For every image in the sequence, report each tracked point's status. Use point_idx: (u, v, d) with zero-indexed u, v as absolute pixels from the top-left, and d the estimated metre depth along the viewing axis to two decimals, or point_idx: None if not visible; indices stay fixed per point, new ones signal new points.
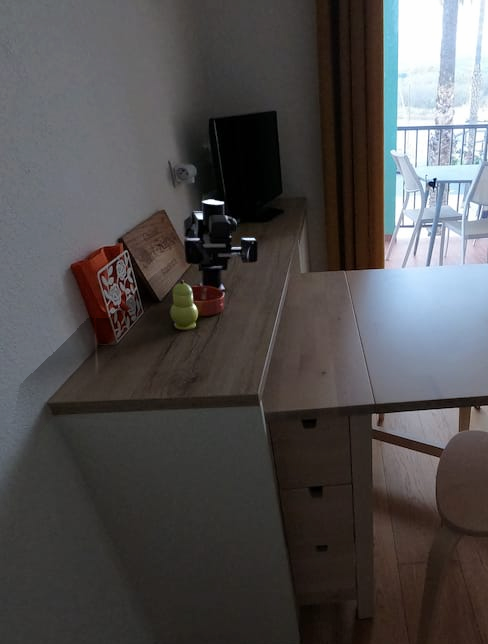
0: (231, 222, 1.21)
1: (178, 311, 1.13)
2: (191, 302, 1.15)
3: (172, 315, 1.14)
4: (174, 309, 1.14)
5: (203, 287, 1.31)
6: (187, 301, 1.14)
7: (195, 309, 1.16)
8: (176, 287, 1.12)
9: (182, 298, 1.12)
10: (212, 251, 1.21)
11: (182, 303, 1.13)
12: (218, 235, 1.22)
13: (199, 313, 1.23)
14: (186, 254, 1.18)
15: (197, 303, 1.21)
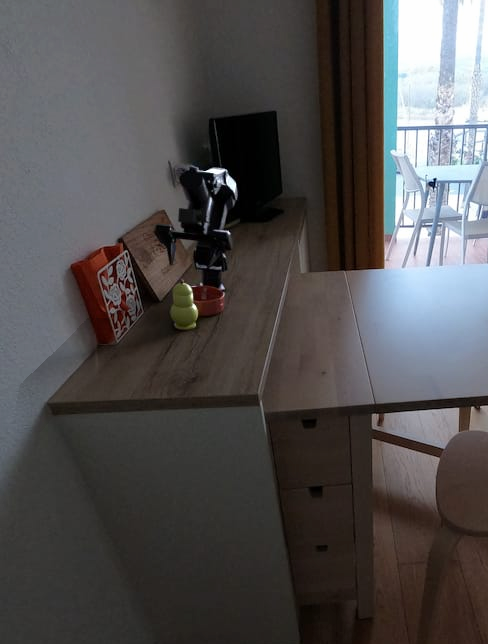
0: (200, 218, 1.14)
1: (178, 311, 1.13)
2: (191, 302, 1.15)
3: (172, 315, 1.14)
4: (174, 309, 1.14)
5: (203, 287, 1.31)
6: (187, 301, 1.14)
7: (195, 309, 1.16)
8: (176, 287, 1.12)
9: (182, 298, 1.12)
10: (184, 238, 1.19)
11: (182, 303, 1.13)
12: (190, 224, 1.17)
13: (199, 313, 1.23)
14: (158, 238, 1.19)
15: (197, 303, 1.21)
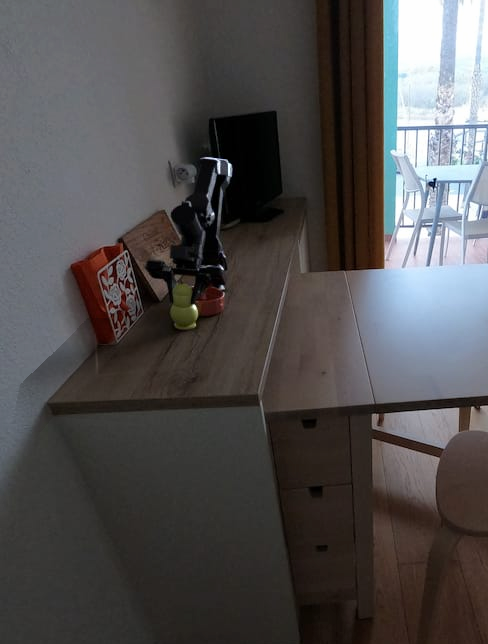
0: (193, 255, 1.10)
1: (178, 311, 1.13)
2: None
3: (172, 315, 1.14)
4: (174, 309, 1.14)
5: None
6: (187, 301, 1.14)
7: (195, 309, 1.16)
8: (176, 287, 1.12)
9: (182, 298, 1.12)
10: (176, 273, 1.16)
11: (182, 303, 1.13)
12: (182, 260, 1.13)
13: (199, 313, 1.23)
14: (149, 273, 1.16)
15: (197, 303, 1.21)
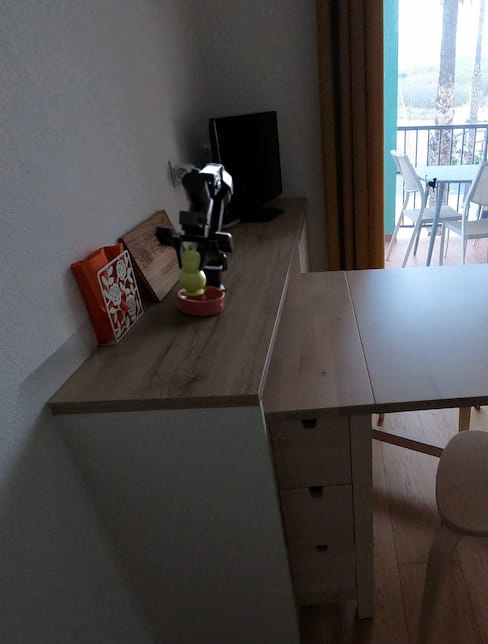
0: (201, 221, 1.12)
1: (187, 277, 1.16)
2: None
3: (181, 281, 1.17)
4: (183, 275, 1.16)
5: (203, 287, 1.31)
6: (196, 267, 1.16)
7: (203, 275, 1.19)
8: (185, 253, 1.14)
9: (191, 263, 1.15)
10: (184, 240, 1.18)
11: (191, 269, 1.16)
12: (190, 226, 1.16)
13: (199, 313, 1.23)
14: (158, 240, 1.18)
15: (197, 303, 1.21)
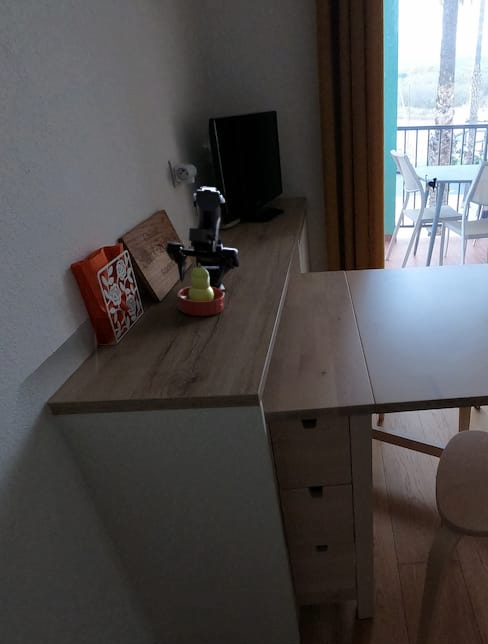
0: (210, 237, 1.20)
1: (196, 293, 1.23)
2: (208, 285, 1.25)
3: (190, 296, 1.24)
4: (192, 291, 1.24)
5: None
6: (205, 284, 1.23)
7: (211, 291, 1.26)
8: (194, 270, 1.22)
9: (200, 280, 1.22)
10: (193, 255, 1.25)
11: (200, 285, 1.23)
12: (199, 242, 1.23)
13: (199, 313, 1.23)
14: (169, 255, 1.25)
15: (197, 303, 1.21)
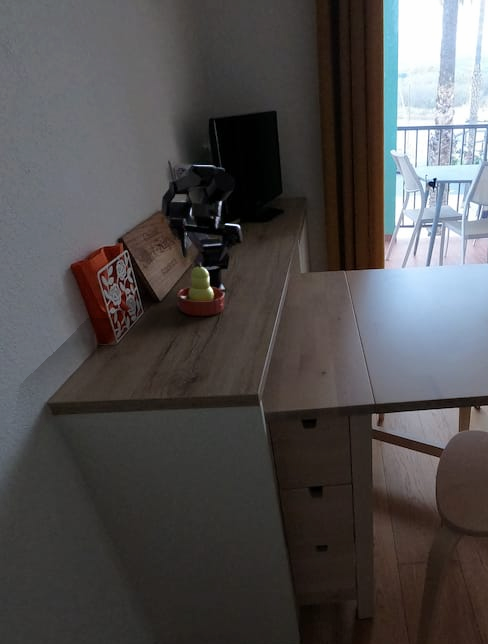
0: (212, 212, 1.20)
1: (196, 293, 1.23)
2: (208, 285, 1.25)
3: (190, 296, 1.24)
4: (192, 291, 1.24)
5: None
6: (205, 284, 1.23)
7: (211, 291, 1.26)
8: (194, 270, 1.22)
9: (200, 280, 1.22)
10: (196, 232, 1.26)
11: (200, 285, 1.23)
12: (202, 218, 1.23)
13: (199, 313, 1.23)
14: (172, 231, 1.26)
15: (197, 303, 1.21)
